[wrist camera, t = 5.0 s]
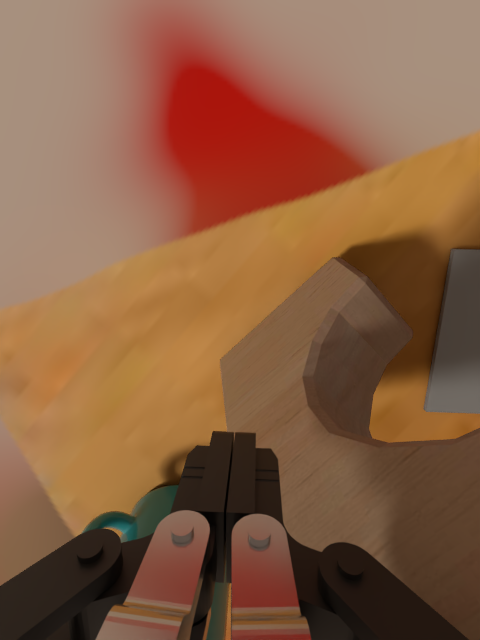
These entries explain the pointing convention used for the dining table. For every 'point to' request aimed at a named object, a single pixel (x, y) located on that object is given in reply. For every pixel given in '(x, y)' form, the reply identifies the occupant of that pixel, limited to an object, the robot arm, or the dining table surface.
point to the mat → (457, 339)
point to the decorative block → (357, 442)
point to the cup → (145, 523)
